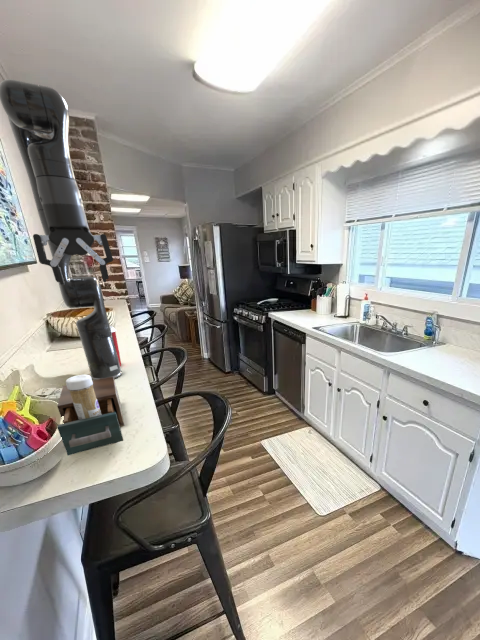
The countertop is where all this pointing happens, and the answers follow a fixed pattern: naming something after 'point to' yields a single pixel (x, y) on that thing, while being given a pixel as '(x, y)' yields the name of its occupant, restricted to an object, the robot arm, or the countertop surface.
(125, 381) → the countertop surface
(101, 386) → the cabinet
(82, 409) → the sprinkles bottle
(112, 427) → the drawer
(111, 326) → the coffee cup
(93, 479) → the countertop surface
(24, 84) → the robot arm
